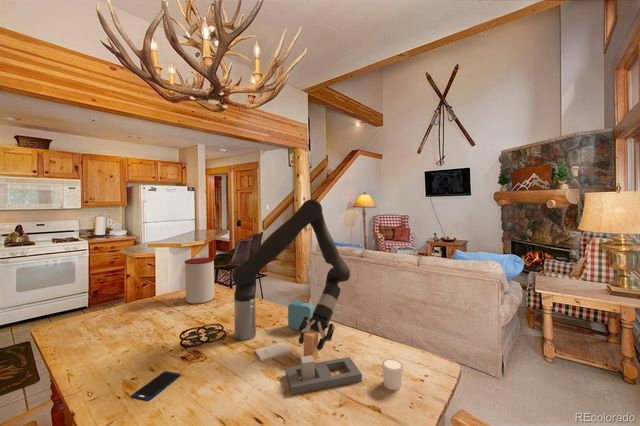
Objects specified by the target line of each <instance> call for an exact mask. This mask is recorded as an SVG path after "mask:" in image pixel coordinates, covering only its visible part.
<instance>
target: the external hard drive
mask: <svg viewBox="0 0 640 426" xmlns="http://www.w3.org/2000/svg"><path fill="white" fill-rule="evenodd" d="M254 353H255V355H256V356H257V357H258V359H259V361H260V362H264V361H268V360H271V359H274V358H279V357H282V356H284V355H285V356H286V355H288V354H291V353H292V350H291V349H290V348H289V347H288V346H287V344H286V343H285V342H284V341H282V342H279V343H275V344H271V345H268V346H264V347H261V348H258V349H254Z"/></svg>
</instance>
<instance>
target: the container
mask: <svg viewBox="0 0 640 426" xmlns="http://www.w3.org/2000/svg"><path fill="white" fill-rule="evenodd" d="M214 263H215V258H213V257H194V258H189V259H186V260H184V266H185V267H184V268H185V269H184V270H185V273H184V274H185V278H184V279H185V300H184V302H185V303H186V304H187V305H192V304H195V305H202V304H203V305H204V304H208V303H210V302H213V301H214V300H215V299H216V296H215V264H214Z"/></svg>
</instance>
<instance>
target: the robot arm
mask: <svg viewBox="0 0 640 426" xmlns="http://www.w3.org/2000/svg"><path fill="white" fill-rule="evenodd" d="M322 206H323V205H322V204H321V202H320V201H318V199H313V198H311V199H307V200H305V201H304V202H303V203H302V204H301V206H300V207H299V208H297V210H296V212H295V213H294V214H293V215H292V216H291V217H290V218H289V219H288V220H286V221H285V222H284V223H282V224H281V225H280V226H278V227H277V229H275V230H274V231H273V232H272V233H271V234H269V236H268V237H267V238H265V240H264V241H262V243H261V244H260V246H259V247H258V248H257V249H256V250H255V251H254V253H253V254H251V256H249V258H247V259H246V260H245V261H243V262H241V263H239V264H238V265H237V266H235V268H234V269H233V271H232V277H231V278H232V282H233V283H234V284H235V291H234V293H233V294H234V295H233V297H234V298H233V299H234V300H233V301H234V340H235V341H236V340H240V341H247V340H250V339H253V338H254V337H256V335H257V334H256V332H257V325H256V324H257V323H256V321H257V318H256V316H257V315H256V314H257V313H256V291H257V275H258V273H260V271H262V270H263V268H264V267H266V266H267V265H269V264H270V263H271V262H272V261H273V260H274V259H276V258H277V257H279V255H280V254H282V253H283V252H284V251H285V250H286V249H287V248H289V246H290V245H291V244H292V243H293V242H294V240H295V239H296V238H297V237H298V235H299V234H300V233H301V231H302V230H304V229H305V228H306V227H307V226H308V225H309V224H310V226H311V228H312V229H313V232H314V234H315V237H316V241H317V244H318V247H319V249H320V252H321V254H322V257H323V259H324V262H325V263H326V264H328V265H331V266H332V267H331V268H330V269H329V270H328V272H327V274H326V278H325V279H326V280H325V286H324V289H323V291H322V292H321V295H320V297H319V299H318V301H317V303H316V305H315V306H314V312H313V316H312V318H311V319H310V318H308V317H307V316H305V317H304V319H303V321H302V323H301V325H300V327H299V330H298V331H300V336H299V337H298V343H299V344H300V345H304V333H306V332H308V331H309V330H311V331H315V332H318V334H320V338H319V339H318V346H317V349H318V352H319V351H322V350H323V348H324V345H325V343H326V342H327V341H328V342H330V341H331V340H332V338H333V334H334V332H335V328H336V326H335V325H334V324H333V323H332V322H331V323H330V321H331V320H332V316H333V314H334V311H335V310H336V309H335V308H336V305H337V303H338V299H339V296H340V294H341V288H340V285H339V283H343V282H347V281H348V280H349V279H350V277H351V271H350V268H349V266H348V265H347V263H346V262H345V260H344V259H343V258H342V257H341V255H340V254H339V251H338V249H337V246H336V243H335V242H334V239H333V237H332V235H331V233H330V231H329V230H328V227H327V224H326V221H325V218H324V212H323V207H322ZM309 322H310V324H308V323H309ZM307 324H308V325H307ZM310 327H311V328H310ZM326 329H327V332H326Z"/></svg>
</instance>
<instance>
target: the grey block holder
mask: <svg viewBox="0 0 640 426" xmlns="http://www.w3.org/2000/svg"><path fill="white" fill-rule="evenodd" d="M340 369H341V370H342V369H344V371H345V373H338V374H333V375H332V373H331V371H334V370H340ZM285 375H286V379H287V382H288V386H289V389H290V393H291V396H293V395H299V394H303V393H309V392H314V391H319V390H325V389H330V388H333V387H338V386H344V385H351V384H355V383H360V382H362V381H363V379H362V378H363V374H362V372H361V371H360V369H359V368H358V367H357V365H356V364H355V362H354V361H353V360H352V359H351V357H350V356H348V357H341V358H335V359H329V360H323V361H317V362H316V360H315V361H314V359H313V356H312V355H310V356H304V355H303V356H300V364H299V365H294V366H287V367H286V368H285Z"/></svg>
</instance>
